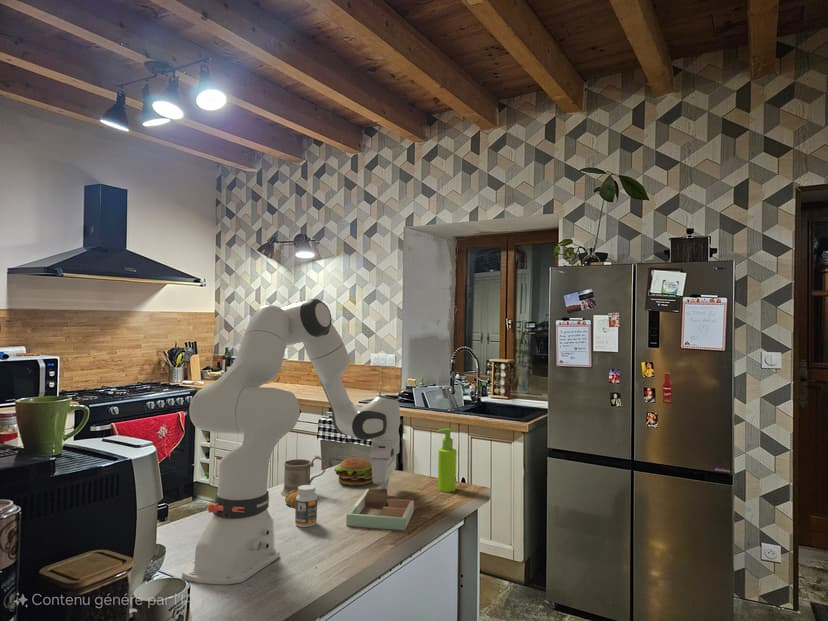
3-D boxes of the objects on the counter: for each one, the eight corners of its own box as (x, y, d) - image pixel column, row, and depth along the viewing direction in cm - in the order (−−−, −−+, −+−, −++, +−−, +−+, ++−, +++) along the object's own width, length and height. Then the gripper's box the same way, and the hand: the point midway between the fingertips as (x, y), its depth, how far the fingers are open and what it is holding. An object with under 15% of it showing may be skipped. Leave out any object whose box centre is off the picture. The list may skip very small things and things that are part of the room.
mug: (275, 496, 175) (276, 457, 175) (288, 487, 185) (289, 450, 185) (319, 499, 172) (320, 460, 173) (330, 490, 182) (331, 453, 182)
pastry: (320, 506, 167) (320, 493, 167) (303, 512, 162) (303, 498, 162) (299, 499, 173) (299, 487, 173) (282, 505, 167) (282, 492, 167)
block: (384, 507, 167) (384, 494, 167) (366, 506, 167) (366, 493, 167) (387, 502, 172) (387, 488, 172) (369, 501, 173) (369, 488, 173)
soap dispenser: (432, 488, 187) (433, 428, 187) (450, 486, 190) (451, 426, 190) (440, 493, 181) (441, 431, 182) (458, 490, 184) (459, 430, 185)
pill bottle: (311, 528, 148) (312, 491, 148) (291, 526, 149) (292, 489, 149) (319, 521, 153) (320, 485, 154) (300, 519, 155) (301, 483, 155)
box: (404, 530, 148) (405, 518, 148) (346, 525, 151) (346, 514, 151) (417, 502, 172) (418, 492, 172) (367, 498, 174) (367, 488, 174)
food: (346, 474, 202) (346, 452, 203) (380, 479, 197) (381, 456, 197) (325, 483, 190) (326, 460, 190) (362, 489, 184) (363, 465, 185)
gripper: (382, 439, 189) (381, 481, 188) (368, 453, 168) (367, 499, 168) (401, 440, 188) (400, 482, 187) (389, 454, 167) (388, 501, 167)
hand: (384, 490), depth 177 cm, fingers closed
